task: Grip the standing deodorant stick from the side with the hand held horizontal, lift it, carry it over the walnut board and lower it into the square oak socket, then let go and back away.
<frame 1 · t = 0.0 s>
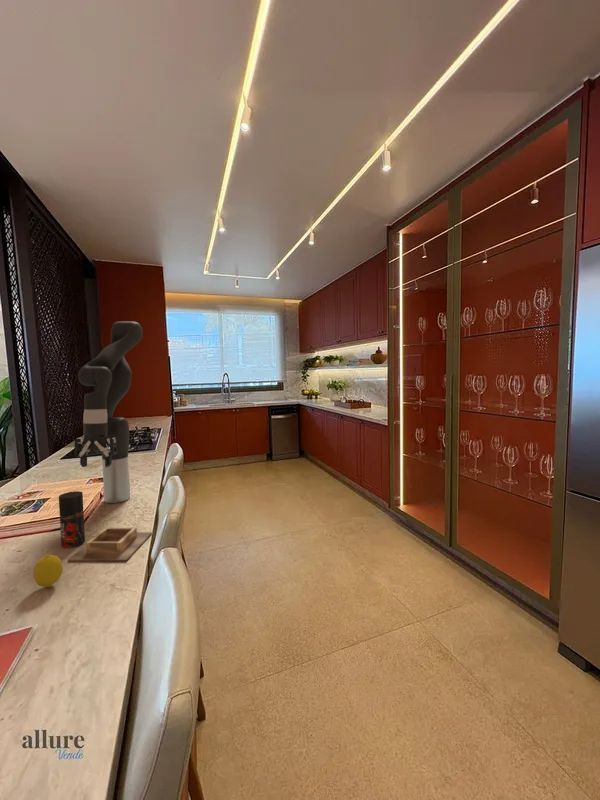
hand: (96, 466, 125), 17 cm above the worktop, tool pointing down, fingers open, 8 cm apart
socket: (113, 546, 102), on the worktop
deodorant: (73, 544, 104), on the worktop
lemon: (49, 587, 83), on the worktop
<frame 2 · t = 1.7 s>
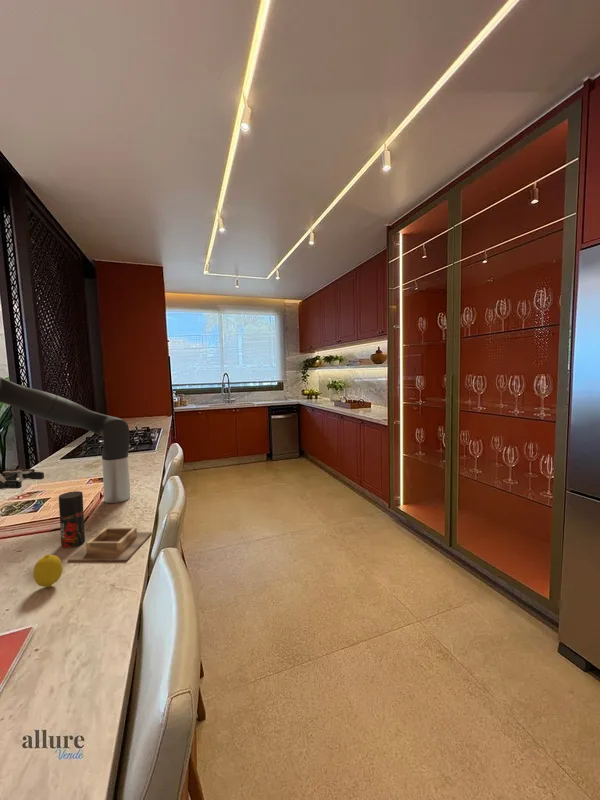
hand: (32, 479, 102), 20 cm above the worktop, tool horizontal, fingers open, 8 cm apart
nothing on the worktop moved.
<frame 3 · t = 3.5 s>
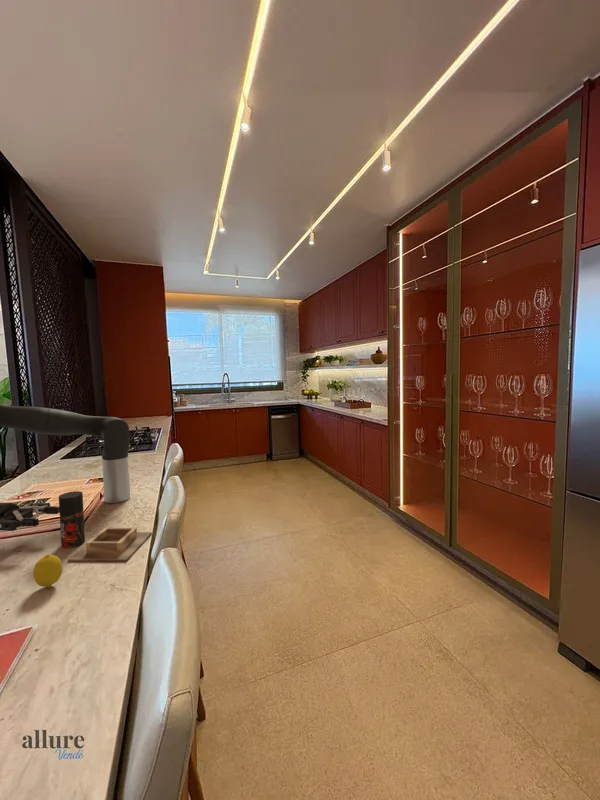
hand: (48, 515, 103), 8 cm above the worktop, tool horizontal, fingers open, 8 cm apart
nothing on the worktop moved.
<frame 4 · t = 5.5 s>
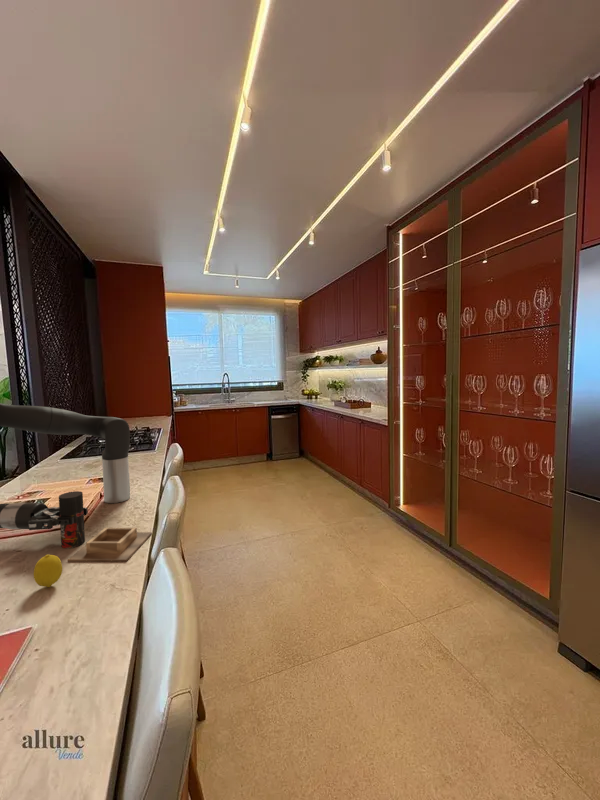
hand: (80, 515, 103), 9 cm above the worktop, tool horizontal, fingers closed on deodorant, 6 cm apart
deodorant: (73, 544, 104), on the worktop, touching gripper
everything else where it was.
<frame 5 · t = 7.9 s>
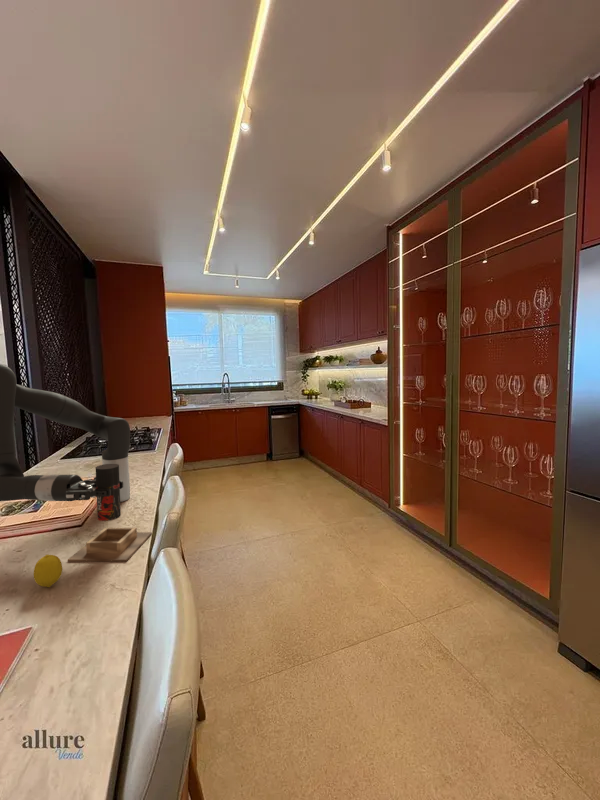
hand: (116, 488, 100), 18 cm above the worktop, tool horizontal, fingers closed on deodorant, 6 cm apart
deodorant: (109, 517, 101), point 9 cm above the worktop, touching gripper
everything else where it was.
when the fingers open (10 cm above the worktop, at t = 10.2 s): deodorant drops 1 cm, resting on socket.
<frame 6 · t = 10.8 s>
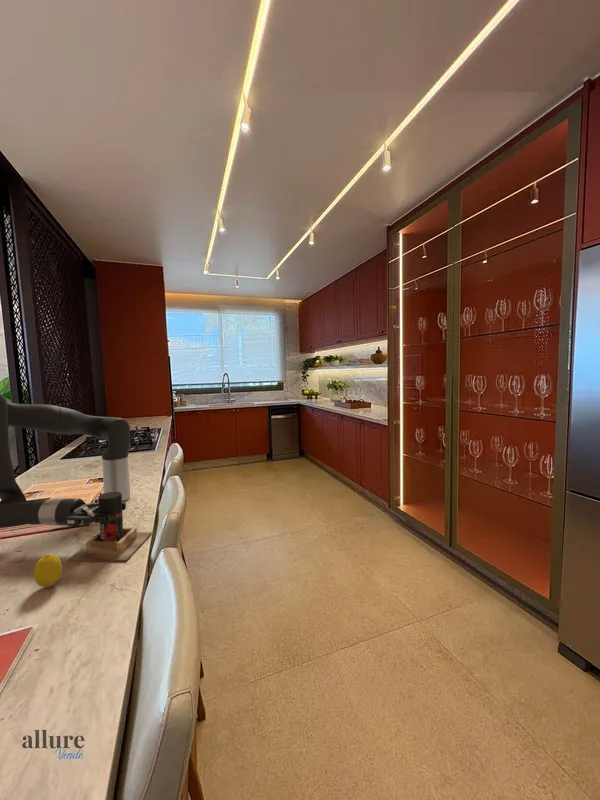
hand: (117, 511, 101), 11 cm above the worktop, tool horizontal, fingers open, 8 cm apart
deodorant: (112, 545, 102), resting on socket
everything else where it was.
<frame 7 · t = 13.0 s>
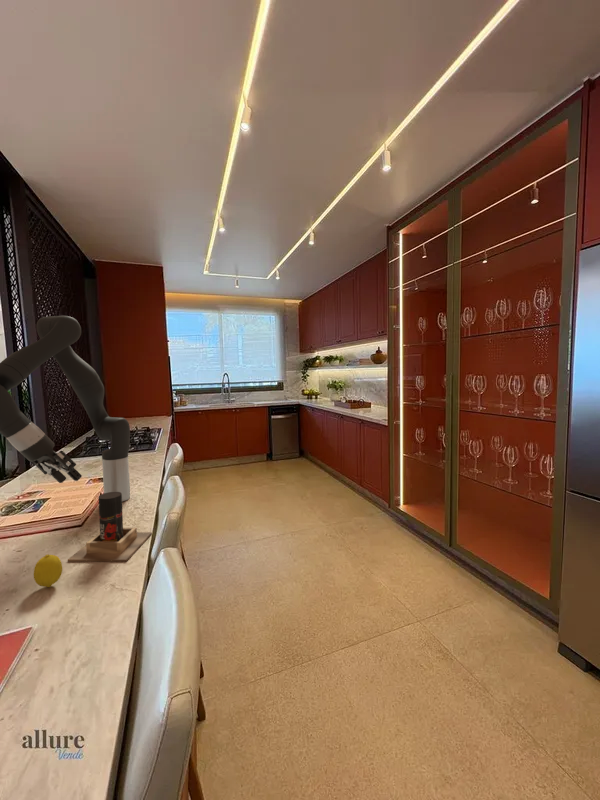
hand: (71, 479, 107), 18 cm above the worktop, tool tilted 35°, fingers open, 8 cm apart
nothing on the worktop moved.
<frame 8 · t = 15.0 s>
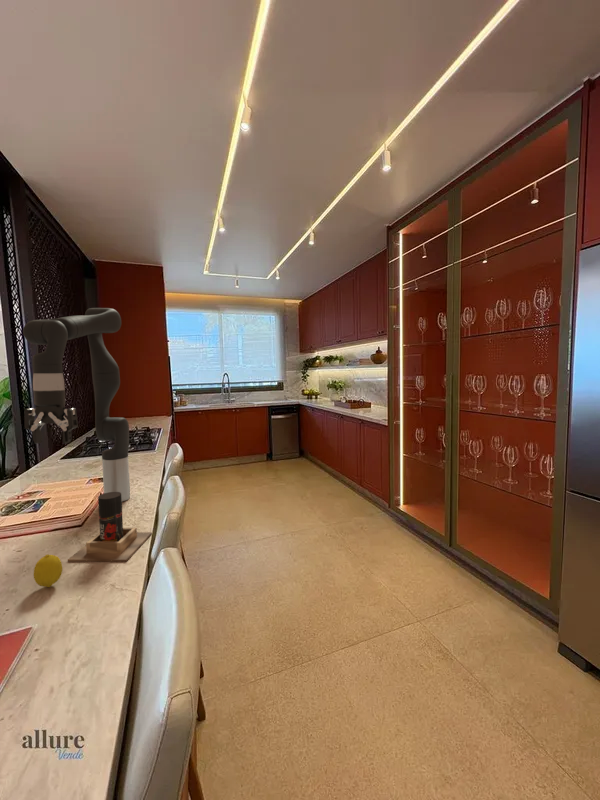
hand: (52, 443, 103), 30 cm above the worktop, tool pointing down, fingers open, 8 cm apart
nothing on the worktop moved.
at the end: deodorant 0.2 cm off-centre on the socket, point 0.4 cm above the socket's base; deodorant tilted 0°; the gripper is holding nothing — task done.
